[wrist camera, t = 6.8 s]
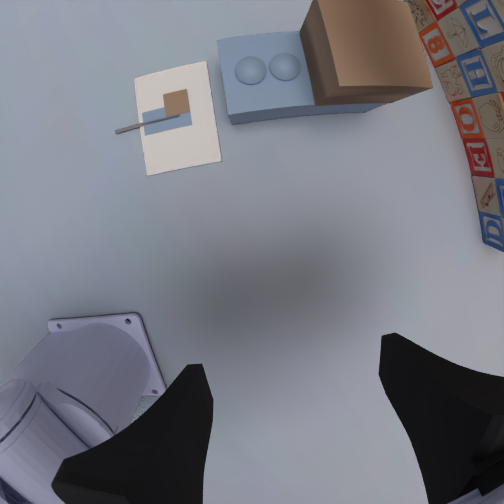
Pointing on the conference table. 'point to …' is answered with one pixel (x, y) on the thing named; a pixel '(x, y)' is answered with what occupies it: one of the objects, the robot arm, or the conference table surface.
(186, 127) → the page
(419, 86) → the walnut brick
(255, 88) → the base brick
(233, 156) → the conference table surface
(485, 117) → the stack of blocks
